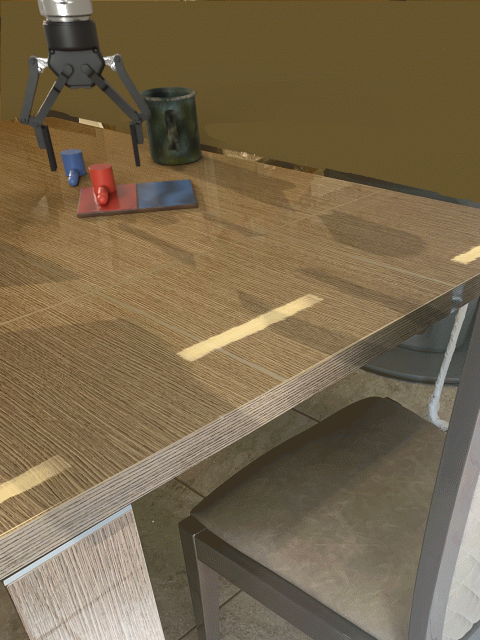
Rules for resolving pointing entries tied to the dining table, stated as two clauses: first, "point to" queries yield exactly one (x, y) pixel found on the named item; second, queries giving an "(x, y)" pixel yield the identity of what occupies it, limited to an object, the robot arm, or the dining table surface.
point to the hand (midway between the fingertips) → (96, 166)
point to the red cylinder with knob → (102, 181)
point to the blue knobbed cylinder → (73, 165)
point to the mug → (172, 125)
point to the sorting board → (139, 198)
